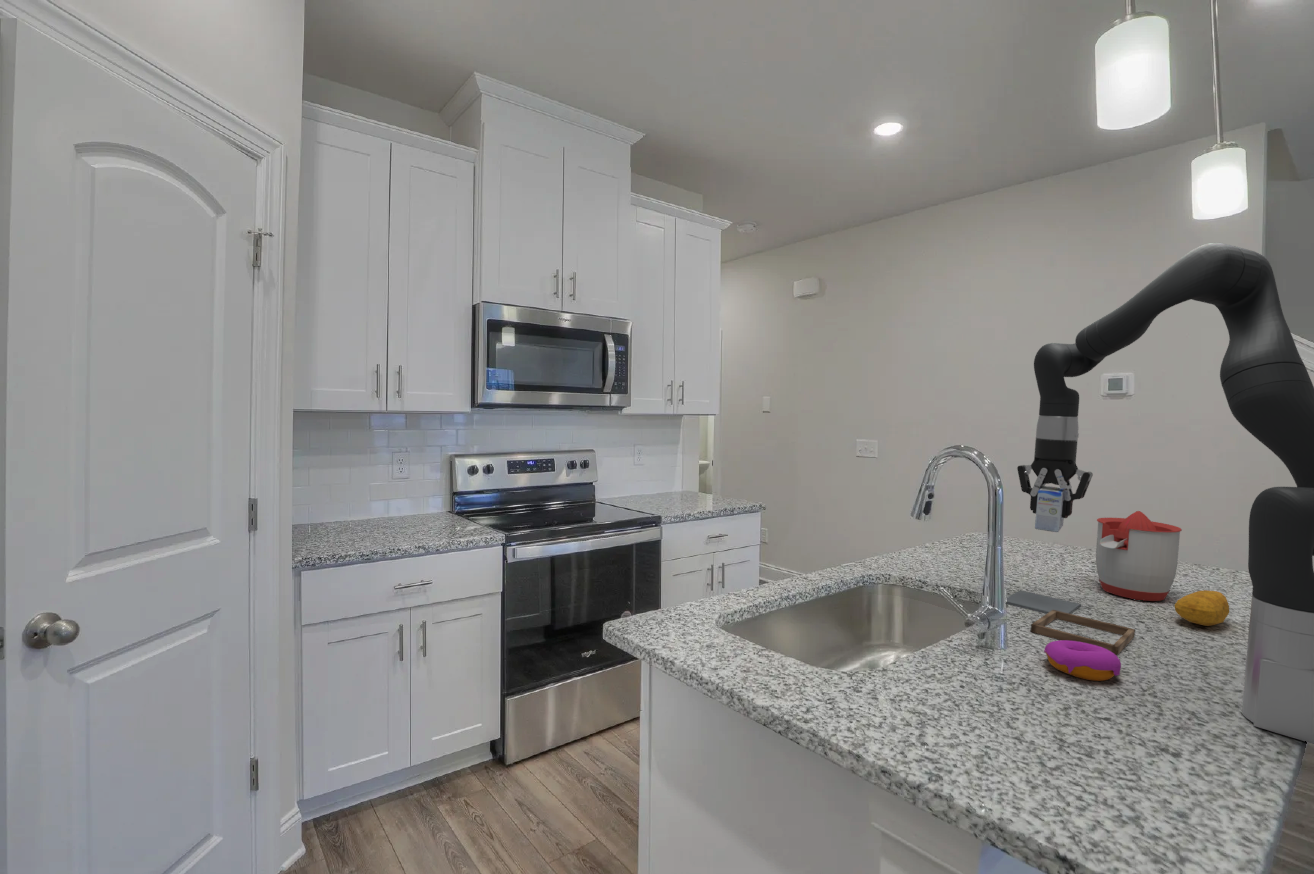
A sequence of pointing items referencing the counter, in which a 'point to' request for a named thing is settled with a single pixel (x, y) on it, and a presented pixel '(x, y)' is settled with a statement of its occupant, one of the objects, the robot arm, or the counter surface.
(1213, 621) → the potato
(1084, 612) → the counter surface
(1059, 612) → the walnut cradle
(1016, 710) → the counter surface
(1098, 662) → the donut
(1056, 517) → the medicine box
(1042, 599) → the slate mat
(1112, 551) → the citrus juicer
